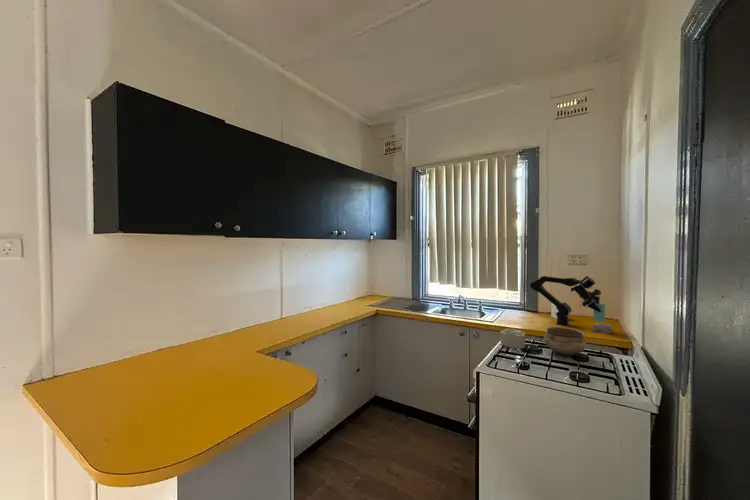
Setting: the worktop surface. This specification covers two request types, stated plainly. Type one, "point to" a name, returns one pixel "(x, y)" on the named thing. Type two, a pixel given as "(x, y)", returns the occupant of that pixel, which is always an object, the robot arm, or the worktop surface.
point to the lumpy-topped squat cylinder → (512, 338)
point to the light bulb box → (554, 311)
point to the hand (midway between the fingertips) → (601, 311)
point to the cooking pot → (565, 340)
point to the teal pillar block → (600, 313)
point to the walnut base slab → (602, 331)
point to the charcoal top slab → (602, 327)
